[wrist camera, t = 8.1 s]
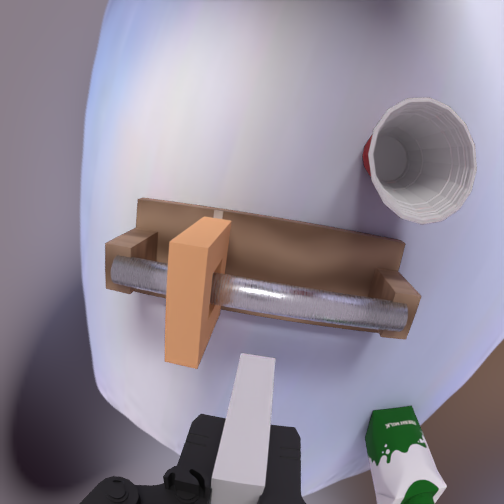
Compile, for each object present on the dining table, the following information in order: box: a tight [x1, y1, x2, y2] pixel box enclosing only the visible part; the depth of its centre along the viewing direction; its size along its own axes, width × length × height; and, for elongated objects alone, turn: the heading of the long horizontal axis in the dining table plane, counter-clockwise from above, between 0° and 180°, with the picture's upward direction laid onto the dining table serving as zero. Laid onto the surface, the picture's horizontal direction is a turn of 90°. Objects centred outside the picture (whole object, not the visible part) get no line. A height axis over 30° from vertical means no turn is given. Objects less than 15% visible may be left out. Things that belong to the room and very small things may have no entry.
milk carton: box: [365, 406, 447, 504], centre depth 34 cm, size 9×9×20 cm
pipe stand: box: [105, 198, 421, 339], centre depth 34 cm, size 12×32×9 cm, turn 82°
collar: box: [165, 216, 232, 369], centre depth 30 cm, size 11×3×11 cm, turn 172°
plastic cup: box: [363, 98, 477, 224], centre depth 28 cm, size 11×11×12 cm
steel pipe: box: [111, 255, 408, 332], centre depth 30 cm, size 4×29×4 cm, turn 82°
